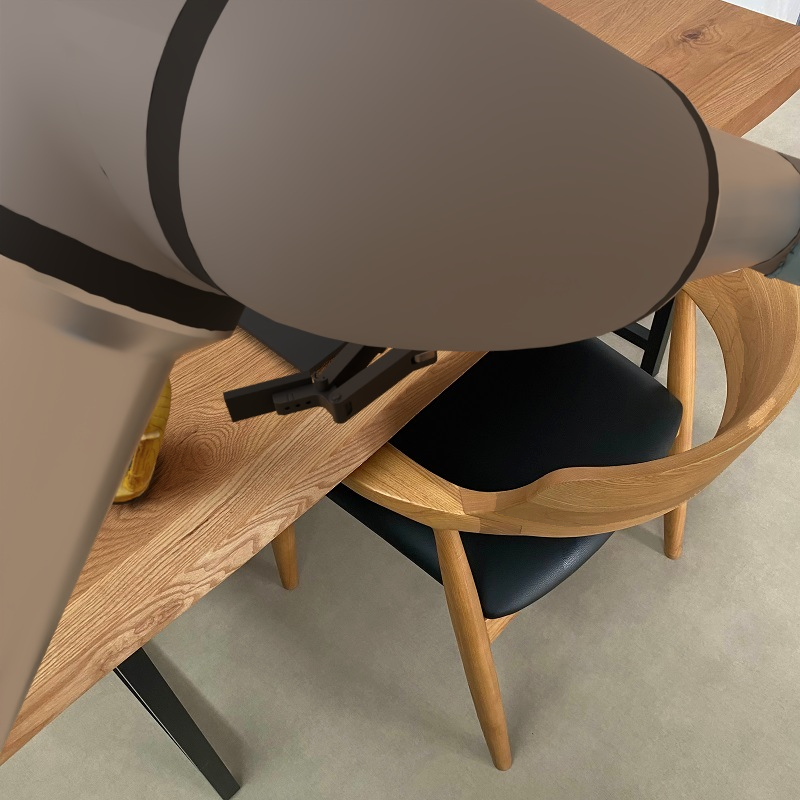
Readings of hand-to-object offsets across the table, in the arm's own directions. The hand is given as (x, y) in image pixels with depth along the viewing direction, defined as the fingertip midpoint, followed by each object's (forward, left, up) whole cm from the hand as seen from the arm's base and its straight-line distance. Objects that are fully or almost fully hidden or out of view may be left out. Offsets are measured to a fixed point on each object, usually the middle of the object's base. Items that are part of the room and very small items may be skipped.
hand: (214, 344), depth 63 cm
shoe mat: (+27, -14, -13) cm, 33 cm away
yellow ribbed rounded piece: (-3, +9, -13) cm, 17 cm away
